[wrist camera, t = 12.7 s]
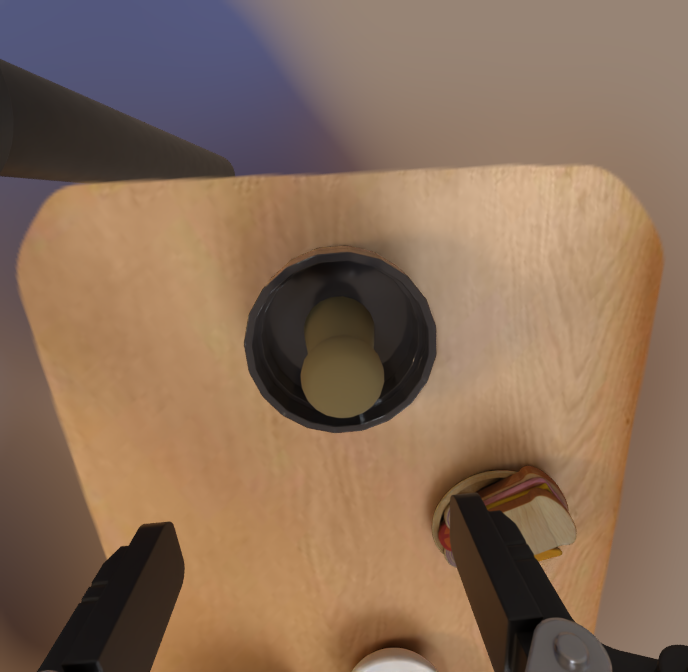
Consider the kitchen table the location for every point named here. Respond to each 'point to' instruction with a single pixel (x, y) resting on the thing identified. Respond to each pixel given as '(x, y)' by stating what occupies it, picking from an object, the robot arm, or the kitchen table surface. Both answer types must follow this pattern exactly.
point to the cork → (341, 358)
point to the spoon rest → (394, 662)
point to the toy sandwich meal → (515, 509)
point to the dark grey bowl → (389, 326)
